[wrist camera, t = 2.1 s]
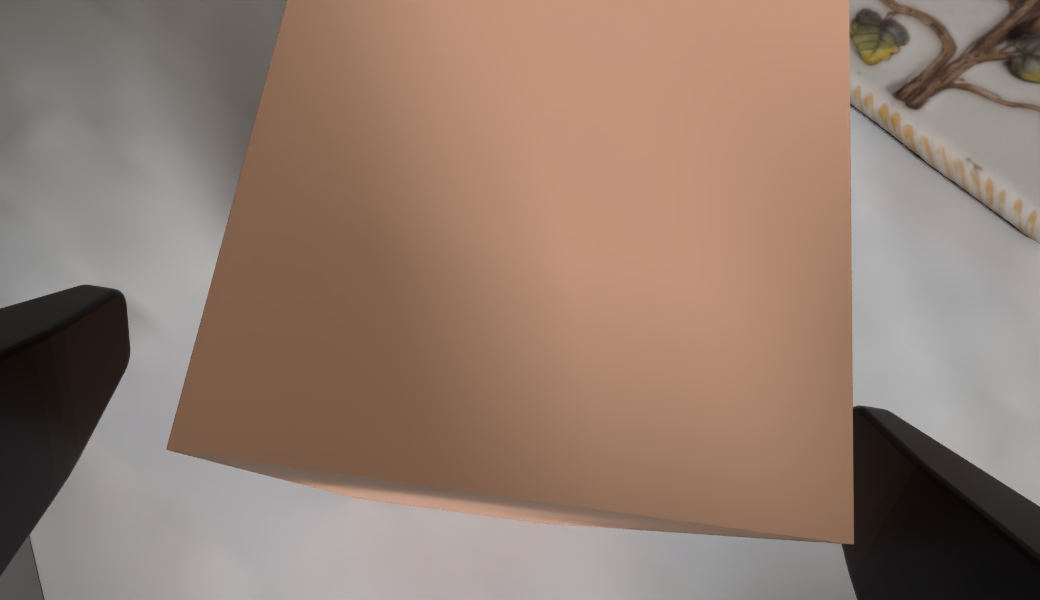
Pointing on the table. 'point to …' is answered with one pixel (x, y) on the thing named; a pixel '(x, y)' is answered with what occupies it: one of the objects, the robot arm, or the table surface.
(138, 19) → the table surface
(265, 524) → the table surface
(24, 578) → the box
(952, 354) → the table surface
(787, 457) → the terracotta block
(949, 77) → the decorative jar
